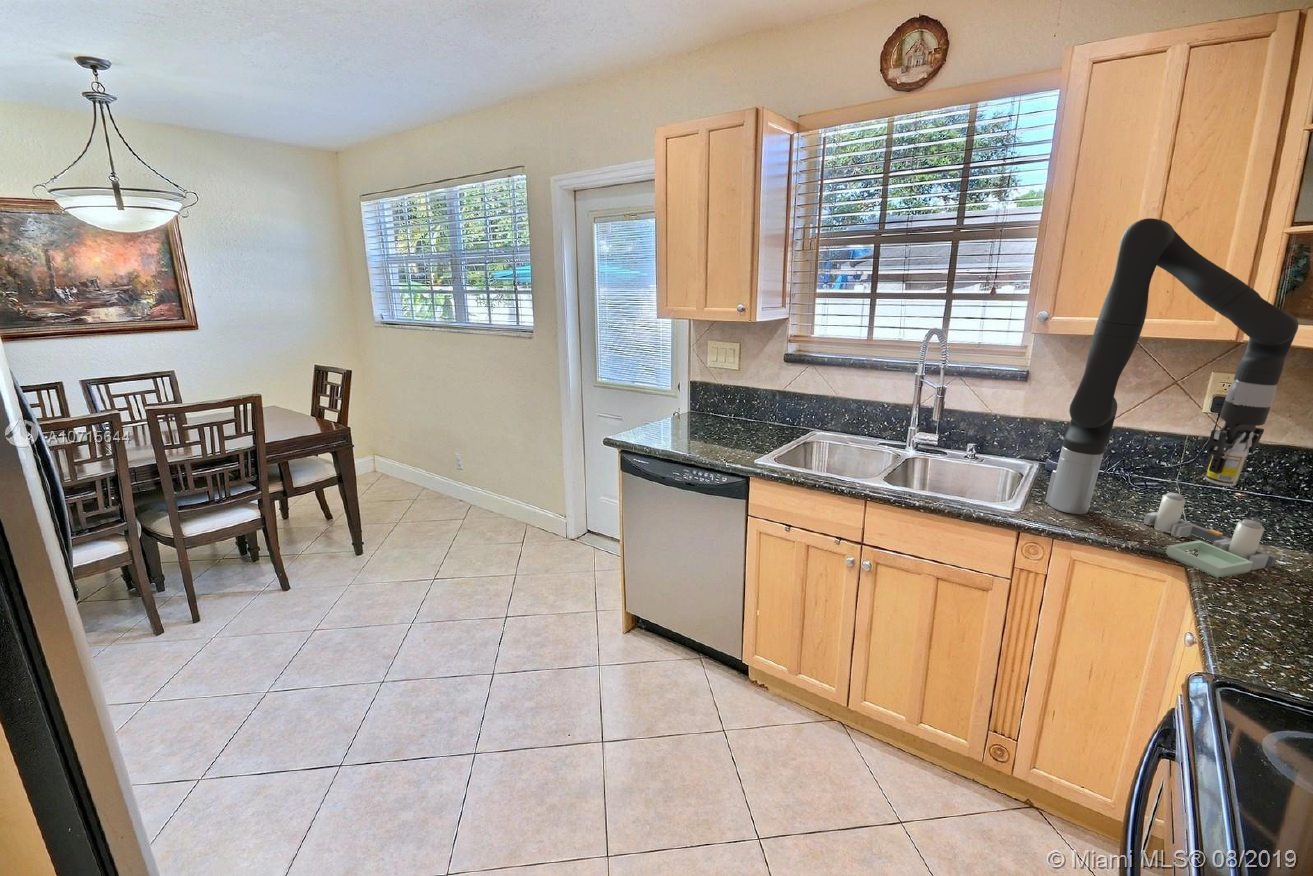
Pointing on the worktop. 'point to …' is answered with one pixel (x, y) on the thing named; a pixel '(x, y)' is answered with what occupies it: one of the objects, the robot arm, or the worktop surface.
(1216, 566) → the tray
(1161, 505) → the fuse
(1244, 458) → the supplement bottle
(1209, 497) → the worktop surface
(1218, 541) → the fuse holder
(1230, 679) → the worktop surface
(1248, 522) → the fuse
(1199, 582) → the worktop surface
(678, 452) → the worktop surface
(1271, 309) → the robot arm
